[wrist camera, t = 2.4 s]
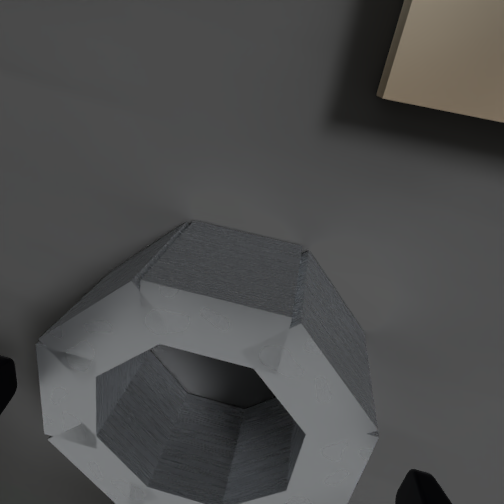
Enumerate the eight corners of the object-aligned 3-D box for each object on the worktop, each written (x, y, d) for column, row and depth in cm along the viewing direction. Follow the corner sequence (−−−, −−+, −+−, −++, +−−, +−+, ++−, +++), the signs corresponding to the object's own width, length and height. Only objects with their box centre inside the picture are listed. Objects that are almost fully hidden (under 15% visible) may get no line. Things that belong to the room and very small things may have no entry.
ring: (318, 460, 12) (315, 570, 9) (108, 401, 13) (49, 489, 10) (393, 267, 9) (420, 349, 6) (110, 201, 10) (26, 250, 7)
